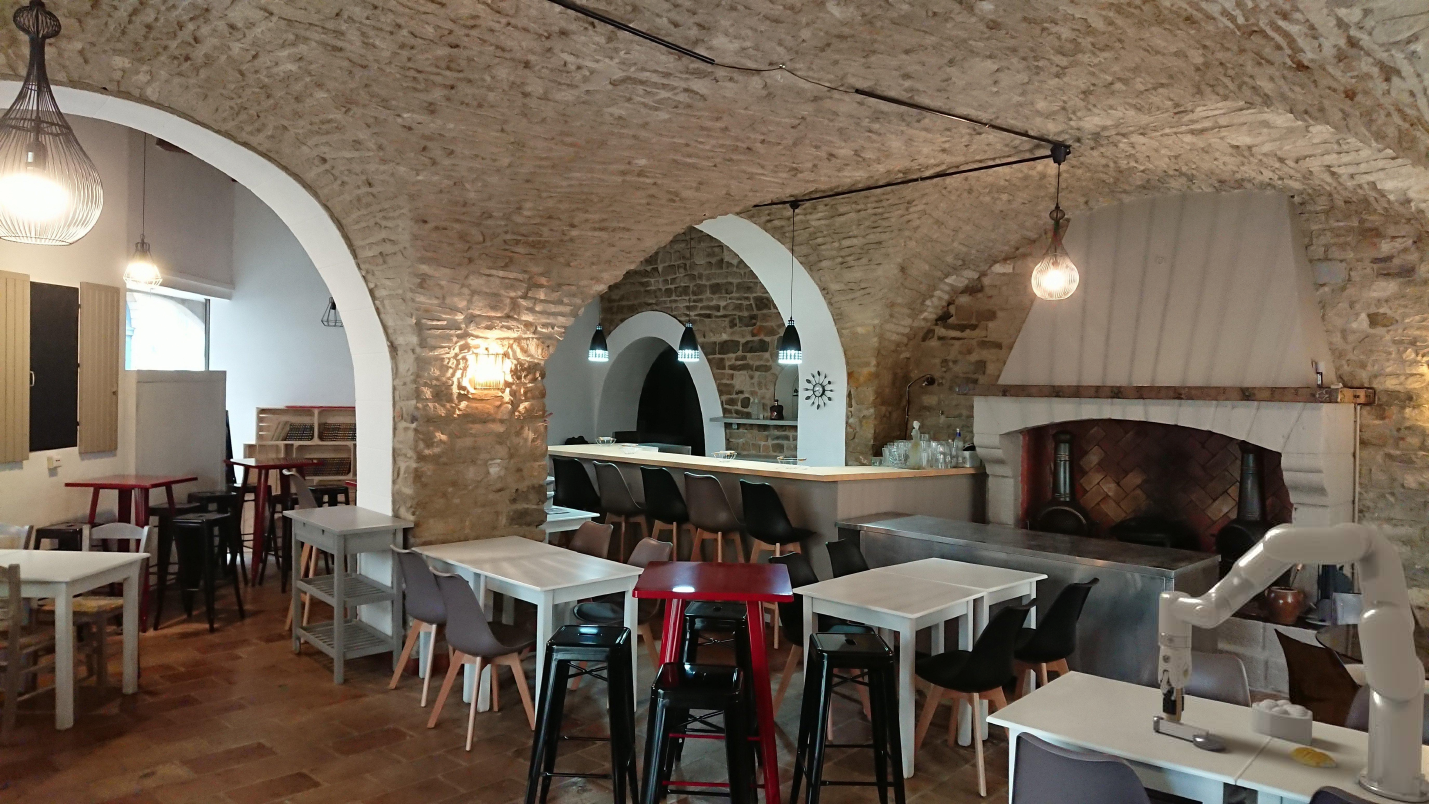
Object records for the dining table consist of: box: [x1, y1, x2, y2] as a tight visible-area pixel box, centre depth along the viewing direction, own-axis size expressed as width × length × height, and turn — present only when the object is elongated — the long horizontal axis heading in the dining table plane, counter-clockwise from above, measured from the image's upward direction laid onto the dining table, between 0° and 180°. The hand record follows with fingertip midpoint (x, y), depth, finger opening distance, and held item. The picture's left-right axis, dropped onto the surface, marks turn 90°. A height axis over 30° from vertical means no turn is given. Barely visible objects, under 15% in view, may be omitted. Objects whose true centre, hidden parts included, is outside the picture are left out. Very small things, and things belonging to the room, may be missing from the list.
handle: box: [1164, 670, 1188, 723], centre depth 229 cm, size 5×6×15 cm
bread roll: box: [1290, 746, 1337, 768], centre depth 212 cm, size 8×9×4 cm
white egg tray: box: [1251, 698, 1313, 748], centre depth 231 cm, size 10×13×9 cm
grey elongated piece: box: [1152, 715, 1226, 753], centre depth 223 cm, size 17×7×4 cm, turn 42°
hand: (1173, 711), depth 229 cm, fingers closed on handle, 3 cm apart
